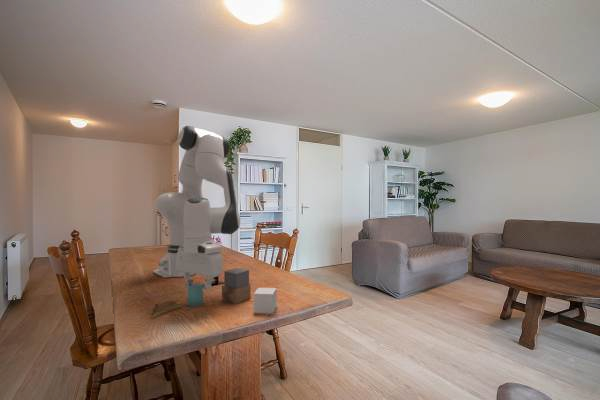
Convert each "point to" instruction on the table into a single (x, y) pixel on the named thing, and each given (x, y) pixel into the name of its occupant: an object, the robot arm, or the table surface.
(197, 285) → the teal cylinder
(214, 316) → the table surface
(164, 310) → the shard
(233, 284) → the tower upper block
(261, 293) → the white cube
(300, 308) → the table surface
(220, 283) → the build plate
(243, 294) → the tower lower block
